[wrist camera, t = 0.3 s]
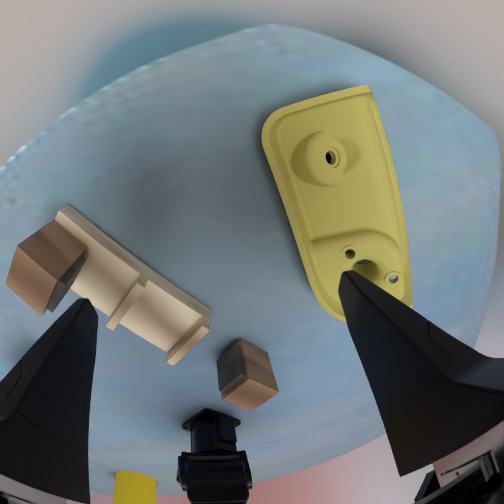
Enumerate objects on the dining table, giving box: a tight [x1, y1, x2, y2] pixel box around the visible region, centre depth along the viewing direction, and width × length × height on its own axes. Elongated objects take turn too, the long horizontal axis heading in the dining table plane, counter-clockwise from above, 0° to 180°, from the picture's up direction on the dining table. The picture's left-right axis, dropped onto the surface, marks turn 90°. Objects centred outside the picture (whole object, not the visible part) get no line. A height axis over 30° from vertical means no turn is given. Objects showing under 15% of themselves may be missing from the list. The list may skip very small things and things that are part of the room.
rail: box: [6, 205, 211, 366], centre depth 21 cm, size 6×17×8 cm, turn 47°
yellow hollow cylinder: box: [113, 471, 156, 504], centre depth 39 cm, size 10×10×9 cm
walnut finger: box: [217, 338, 279, 411], centre depth 27 cm, size 4×5×6 cm
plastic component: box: [261, 85, 412, 322], centre depth 23 cm, size 20×7×10 cm
